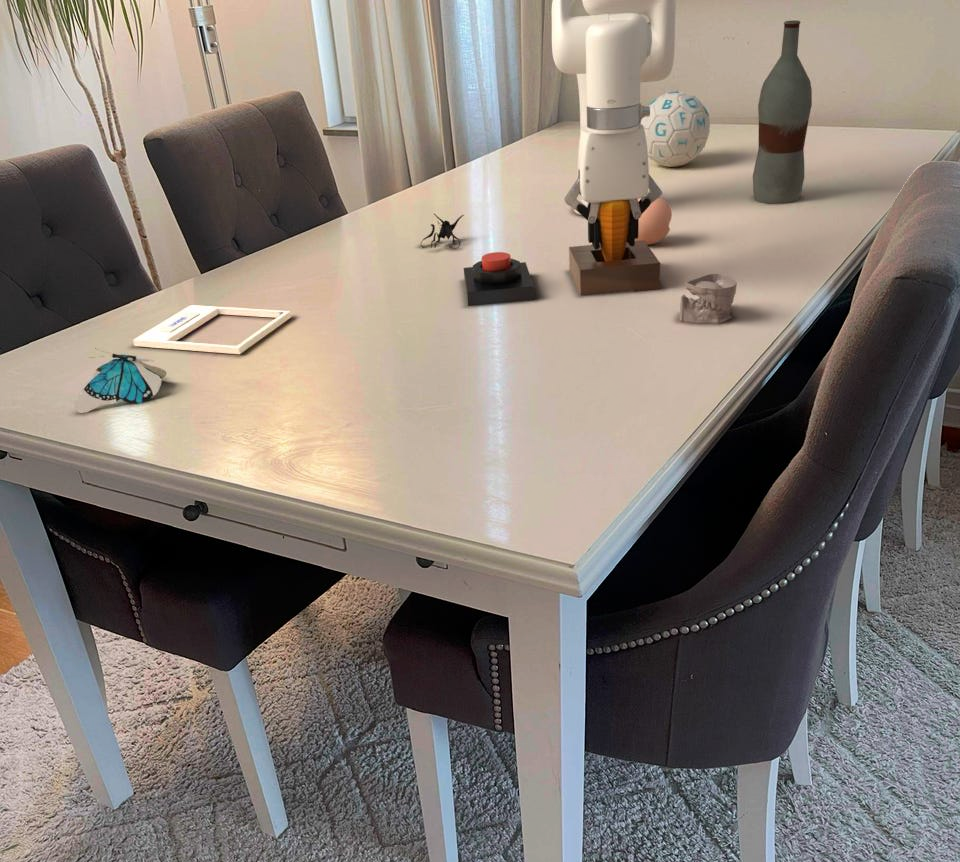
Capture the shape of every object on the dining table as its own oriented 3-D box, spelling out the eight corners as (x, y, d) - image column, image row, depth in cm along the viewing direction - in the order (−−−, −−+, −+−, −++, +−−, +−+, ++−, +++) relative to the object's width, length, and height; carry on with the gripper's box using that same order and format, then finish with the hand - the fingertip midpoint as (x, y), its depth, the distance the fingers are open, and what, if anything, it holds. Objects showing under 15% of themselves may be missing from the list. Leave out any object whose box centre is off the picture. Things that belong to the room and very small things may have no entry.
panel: (464, 281, 153) (462, 256, 151) (526, 275, 153) (525, 250, 151) (468, 306, 143) (465, 280, 141) (534, 300, 143) (533, 274, 141)
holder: (569, 271, 153) (568, 246, 151) (643, 264, 153) (643, 239, 151) (580, 296, 143) (580, 270, 141) (659, 288, 143) (660, 262, 141)
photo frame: (190, 303, 150) (290, 309, 144) (192, 310, 150) (291, 316, 144) (132, 338, 138) (238, 346, 132) (134, 345, 139) (239, 354, 133)
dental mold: (701, 330, 128) (703, 294, 126) (670, 316, 134) (671, 281, 131) (747, 317, 131) (750, 281, 128) (715, 303, 136) (717, 269, 134)
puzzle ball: (718, 159, 211) (722, 86, 203) (692, 175, 200) (695, 98, 193) (654, 156, 218) (656, 85, 210) (626, 171, 208) (627, 97, 200)
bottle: (747, 204, 179) (760, 25, 163) (754, 191, 186) (768, 19, 170) (799, 205, 176) (817, 23, 160) (804, 192, 183) (823, 17, 167)
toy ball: (680, 241, 163) (682, 193, 158) (654, 253, 158) (655, 204, 154) (641, 234, 167) (642, 188, 163) (615, 246, 163) (615, 199, 159)
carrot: (628, 276, 145) (629, 174, 137) (595, 276, 146) (594, 175, 138) (630, 265, 149) (631, 166, 141) (598, 266, 150) (597, 167, 142)
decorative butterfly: (156, 375, 119) (71, 364, 117) (155, 421, 122) (73, 412, 120) (171, 345, 127) (93, 334, 125) (171, 389, 130) (94, 379, 129)
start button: (481, 264, 148) (480, 253, 147) (509, 262, 148) (509, 250, 147) (483, 273, 144) (482, 262, 143) (512, 270, 144) (511, 259, 143)
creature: (454, 258, 167) (472, 235, 172) (449, 230, 164) (467, 208, 169) (415, 255, 170) (434, 233, 175) (409, 228, 167) (428, 206, 172)
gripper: (666, 108, 139) (662, 233, 149) (550, 118, 139) (554, 243, 149) (678, 117, 133) (673, 247, 142) (557, 128, 132) (561, 257, 142)
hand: (613, 244), depth 145 cm, fingers closed on carrot, 4 cm apart
